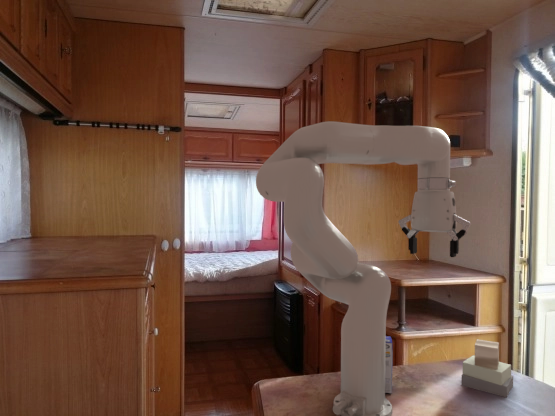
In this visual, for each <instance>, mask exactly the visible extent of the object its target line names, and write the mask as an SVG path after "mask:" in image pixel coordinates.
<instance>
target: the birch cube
mask: <svg viewBox="0 0 555 416" xmlns="http://www.w3.org/2000/svg"><path fill="white" fill-rule="evenodd" d="M474 355H475V365H477V366H482V367H488V368H493V369H498V365H499V362H500V342H498V341H491V340H485V339H478V338H477V339H476V341H475V343H474Z"/></svg>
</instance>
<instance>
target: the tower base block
mask: <svg viewBox="0 0 555 416" xmlns="http://www.w3.org/2000/svg"><path fill="white" fill-rule="evenodd" d="M460 383H461V386H462V387H466V388H470V389H474V390H478V391H482V392H486V393H488V394H493V395H497V396H500V397H504V398H508V396H509V394H510V393H511V391H512V389H513V387H514V375H512V374H511V378H509V379H508V380H507V381H506V382H505V383H504V384H503V385H502V386H501V385H498V384H495V383H491V382H488V381H484V380H481V379H478V378H474V377H471V376H467V375H464V374H463V373H462V374H461V382H460ZM509 392H510V393H509Z"/></svg>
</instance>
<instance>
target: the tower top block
mask: <svg viewBox="0 0 555 416" xmlns="http://www.w3.org/2000/svg"><path fill="white" fill-rule="evenodd" d="M462 374H464V375H467V376H471V377H474V378H478V379H481V380H484V381H488V382H491V383H495V384H498V385H501V386H502V385H503V384H504V383H505V382H506V381H507V380H508V379H509V378H511V375H512V364H508V363H506V362H502V361H499V365H498V369H493V368H488V367H482V366H477V365H475V354H474V355H471V356H470V357H468V358H466V359H465V360H464V361H462Z"/></svg>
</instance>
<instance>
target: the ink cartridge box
mask: <svg viewBox="0 0 555 416" xmlns="http://www.w3.org/2000/svg"><path fill="white" fill-rule="evenodd" d="M392 390H393V339H392V337H391V336H387V335H386V351H385V394H393V391H392Z"/></svg>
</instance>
